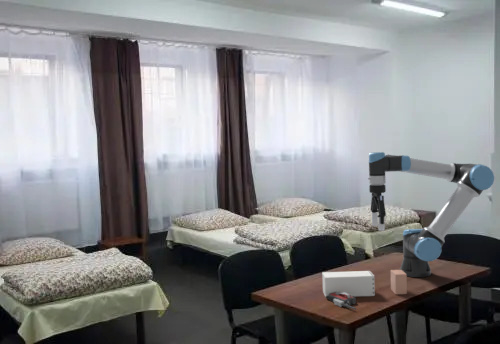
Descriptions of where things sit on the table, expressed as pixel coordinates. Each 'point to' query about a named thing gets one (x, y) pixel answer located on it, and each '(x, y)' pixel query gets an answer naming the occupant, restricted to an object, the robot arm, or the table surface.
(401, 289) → the peach rectangular block
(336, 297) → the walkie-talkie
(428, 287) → the table surface
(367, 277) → the block
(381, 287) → the table surface
